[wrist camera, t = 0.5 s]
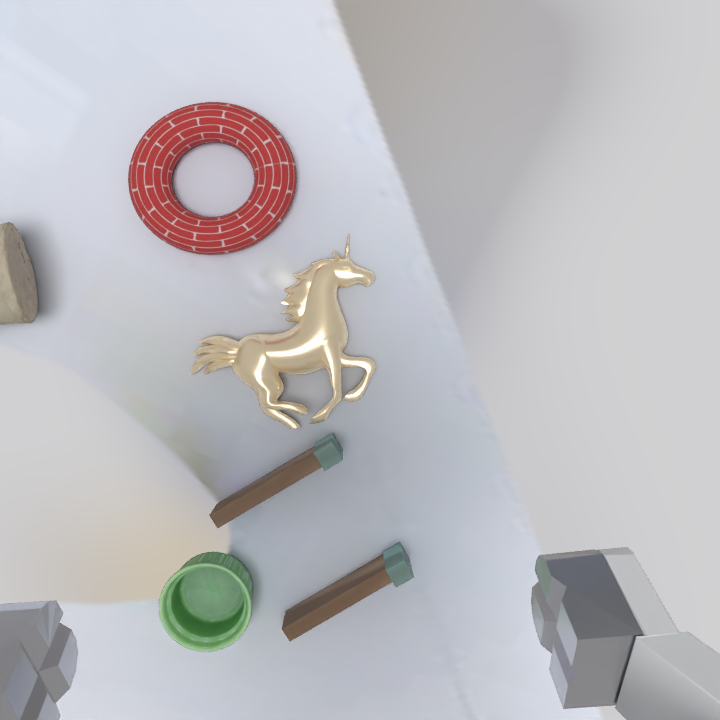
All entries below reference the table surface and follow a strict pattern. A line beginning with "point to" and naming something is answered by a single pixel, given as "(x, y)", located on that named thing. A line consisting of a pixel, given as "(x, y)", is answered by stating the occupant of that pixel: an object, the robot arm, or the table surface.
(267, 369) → the unicorn
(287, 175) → the torus
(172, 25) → the table surface
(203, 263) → the table surface
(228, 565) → the ramekin
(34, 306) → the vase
